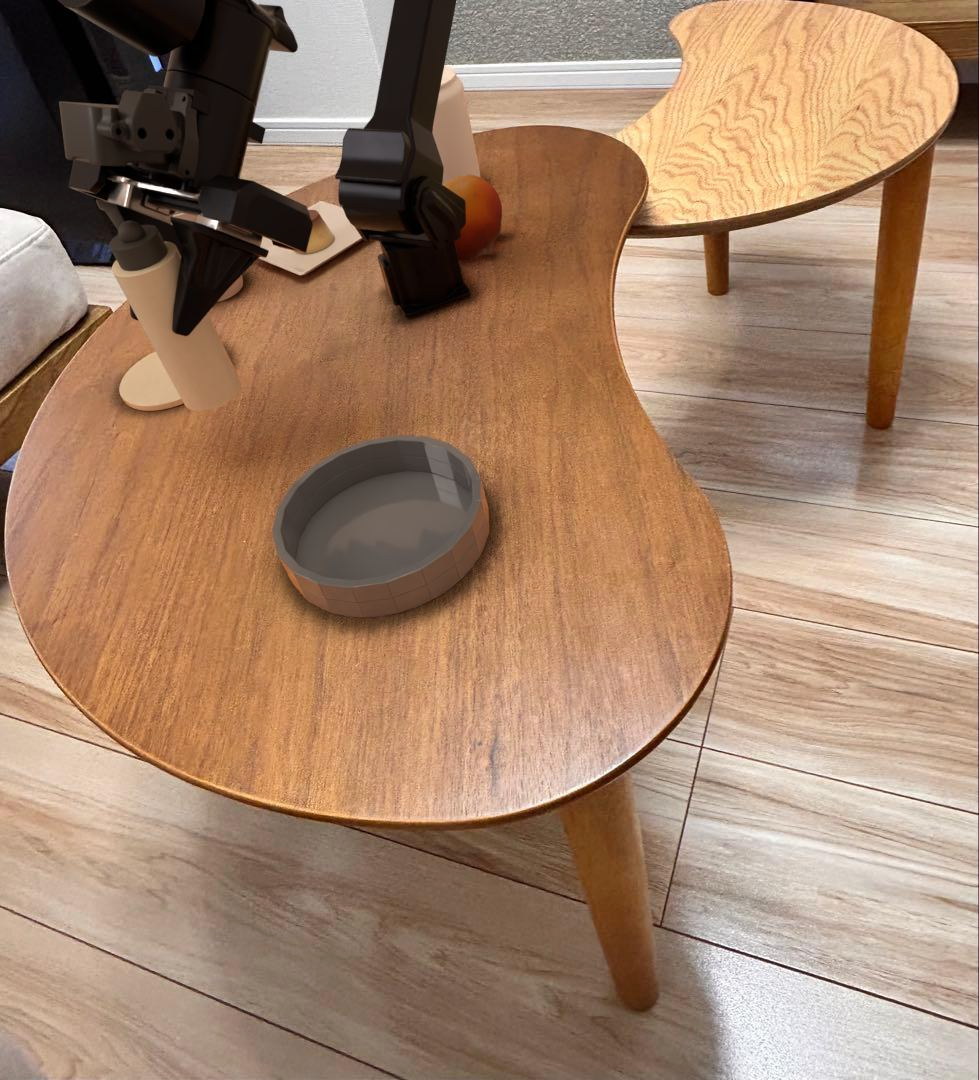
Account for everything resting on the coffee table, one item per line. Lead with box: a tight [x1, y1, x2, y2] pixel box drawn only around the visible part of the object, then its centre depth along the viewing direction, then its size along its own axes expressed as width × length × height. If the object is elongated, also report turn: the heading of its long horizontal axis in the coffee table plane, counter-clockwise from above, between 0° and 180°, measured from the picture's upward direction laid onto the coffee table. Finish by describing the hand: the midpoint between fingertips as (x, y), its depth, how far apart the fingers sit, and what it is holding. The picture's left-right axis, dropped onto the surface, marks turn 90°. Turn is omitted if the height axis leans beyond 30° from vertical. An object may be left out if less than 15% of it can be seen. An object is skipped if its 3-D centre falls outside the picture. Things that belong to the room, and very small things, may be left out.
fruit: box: [444, 175, 507, 262], centre depth 85 cm, size 8×8×8 cm
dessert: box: [257, 200, 364, 276], centre depth 92 cm, size 12×12×5 cm
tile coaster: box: [118, 350, 184, 412], centre depth 80 cm, size 10×10×1 cm
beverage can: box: [432, 65, 482, 185], centre depth 93 cm, size 8×8×12 cm
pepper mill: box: [109, 221, 242, 413], centre depth 59 cm, size 4×4×14 cm
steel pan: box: [271, 434, 490, 619], centre depth 59 cm, size 14×14×4 cm
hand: (158, 327), depth 59 cm, fingers closed on pepper mill, 4 cm apart
